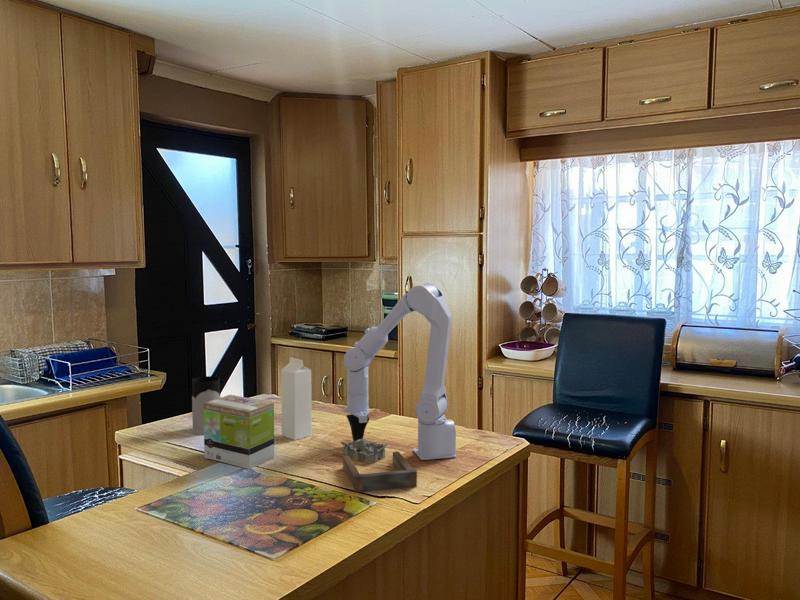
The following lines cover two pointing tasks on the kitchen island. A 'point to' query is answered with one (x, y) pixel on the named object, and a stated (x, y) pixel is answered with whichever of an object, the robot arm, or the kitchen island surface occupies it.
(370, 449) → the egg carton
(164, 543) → the kitchen island surface
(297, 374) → the milk
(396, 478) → the dock
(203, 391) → the glass holder
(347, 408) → the robot arm
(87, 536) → the kitchen island surface
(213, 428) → the tea box
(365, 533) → the kitchen island surface
